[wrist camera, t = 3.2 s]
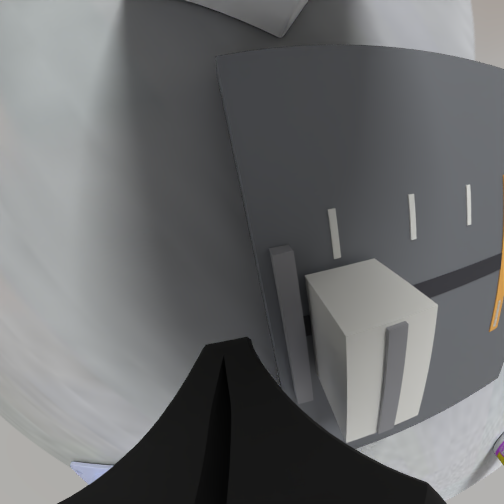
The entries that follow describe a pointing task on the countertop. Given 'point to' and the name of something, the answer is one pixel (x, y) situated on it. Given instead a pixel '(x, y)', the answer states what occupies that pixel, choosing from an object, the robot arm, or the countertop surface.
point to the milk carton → (259, 12)
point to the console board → (374, 198)
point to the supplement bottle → (499, 448)
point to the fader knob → (370, 345)
